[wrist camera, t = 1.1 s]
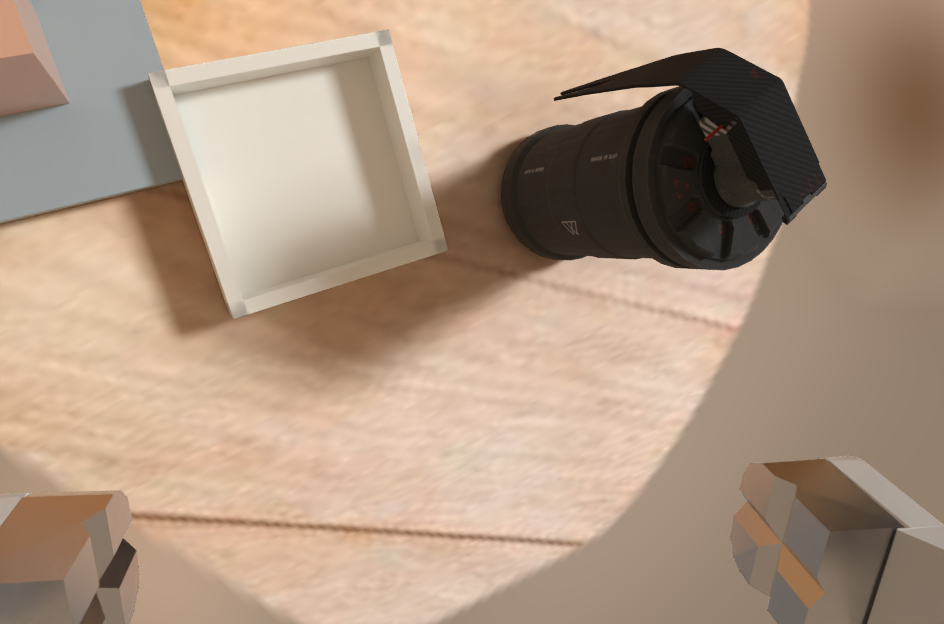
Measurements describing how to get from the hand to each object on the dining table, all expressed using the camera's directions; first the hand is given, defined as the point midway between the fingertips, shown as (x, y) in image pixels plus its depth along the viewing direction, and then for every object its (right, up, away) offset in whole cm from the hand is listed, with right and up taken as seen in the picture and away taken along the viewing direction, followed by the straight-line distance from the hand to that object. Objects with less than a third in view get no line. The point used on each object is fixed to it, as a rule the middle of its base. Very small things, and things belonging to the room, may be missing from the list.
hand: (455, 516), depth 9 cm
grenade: (+5, +12, +38) cm, 40 cm away
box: (-10, +11, +31) cm, 34 cm away
